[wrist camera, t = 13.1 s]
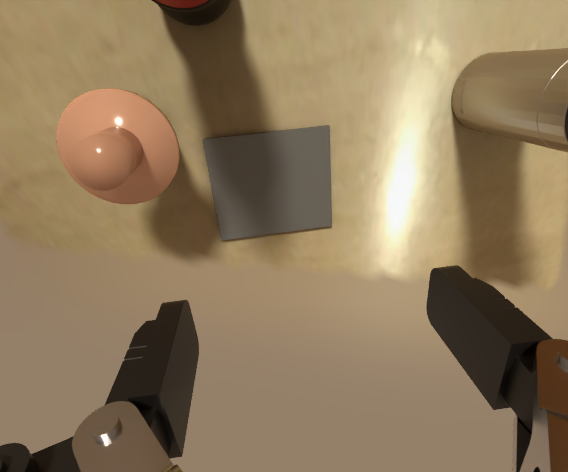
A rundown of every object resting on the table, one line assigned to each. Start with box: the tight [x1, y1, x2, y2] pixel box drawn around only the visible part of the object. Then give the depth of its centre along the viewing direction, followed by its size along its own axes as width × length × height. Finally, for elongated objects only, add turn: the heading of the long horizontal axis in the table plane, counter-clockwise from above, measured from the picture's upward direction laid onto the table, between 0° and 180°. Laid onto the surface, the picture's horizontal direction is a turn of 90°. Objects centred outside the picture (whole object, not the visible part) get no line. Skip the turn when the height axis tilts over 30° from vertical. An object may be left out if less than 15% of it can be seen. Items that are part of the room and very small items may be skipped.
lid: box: [57, 88, 180, 204], centre depth 28 cm, size 10×10×6 cm
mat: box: [203, 125, 332, 241], centre depth 47 cm, size 16×14×1 cm
